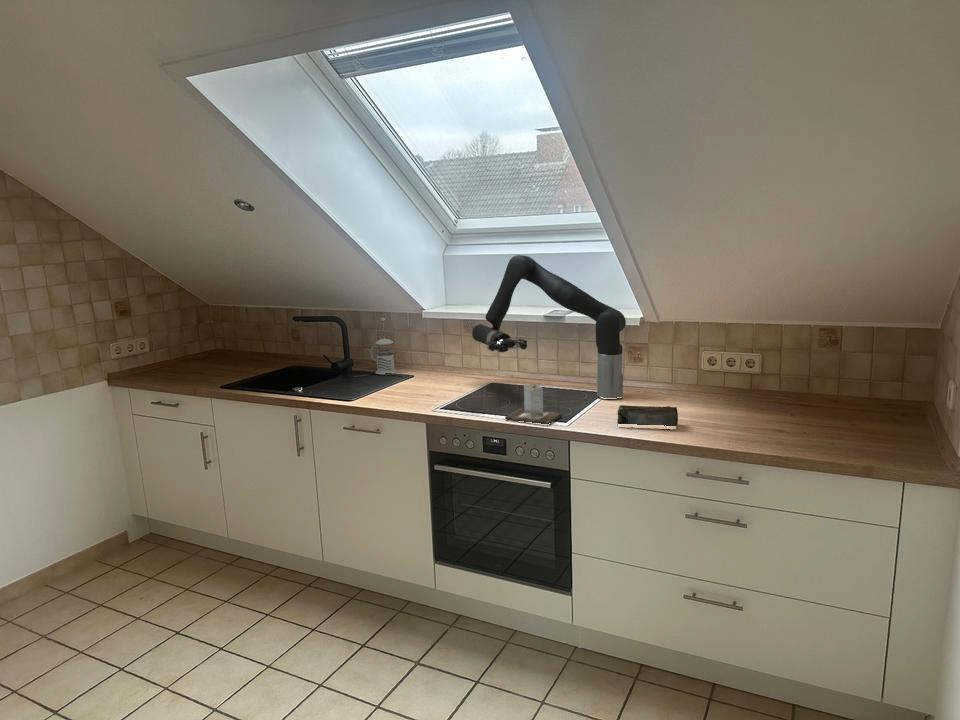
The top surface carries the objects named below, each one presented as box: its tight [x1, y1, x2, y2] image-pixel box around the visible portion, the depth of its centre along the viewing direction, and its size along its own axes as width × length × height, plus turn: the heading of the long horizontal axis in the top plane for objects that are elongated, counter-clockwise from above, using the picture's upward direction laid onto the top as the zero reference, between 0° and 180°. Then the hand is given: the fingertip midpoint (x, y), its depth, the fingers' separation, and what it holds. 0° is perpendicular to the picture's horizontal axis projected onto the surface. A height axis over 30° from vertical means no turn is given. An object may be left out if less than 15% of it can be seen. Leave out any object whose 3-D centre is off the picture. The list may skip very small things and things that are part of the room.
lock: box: [523, 383, 544, 418], centre depth 237 cm, size 4×6×11 cm
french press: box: [369, 317, 397, 375], centre depth 312 cm, size 10×12×25 cm
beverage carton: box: [617, 404, 679, 427], centre depth 226 cm, size 8×19×7 cm, turn 75°
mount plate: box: [504, 407, 563, 424], centre depth 238 cm, size 16×12×1 cm
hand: (514, 347), depth 250 cm, fingers open, 8 cm apart
